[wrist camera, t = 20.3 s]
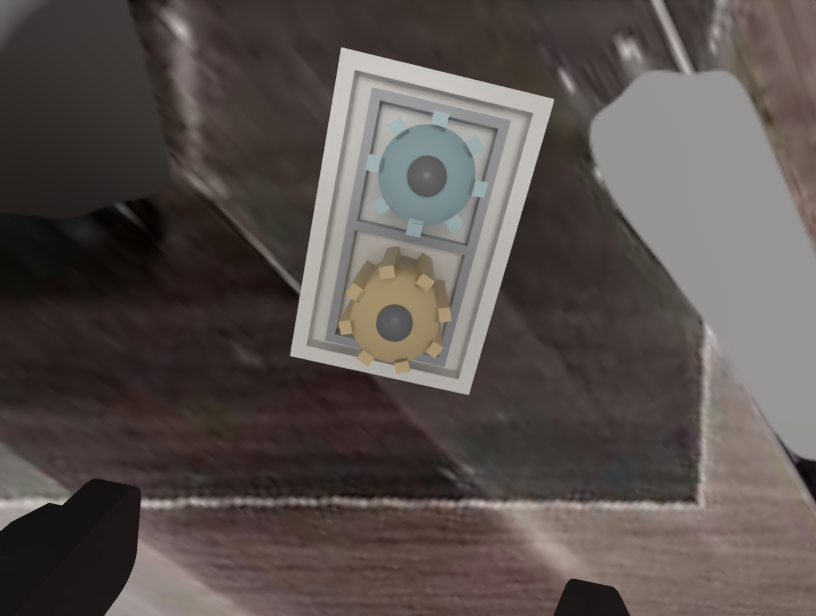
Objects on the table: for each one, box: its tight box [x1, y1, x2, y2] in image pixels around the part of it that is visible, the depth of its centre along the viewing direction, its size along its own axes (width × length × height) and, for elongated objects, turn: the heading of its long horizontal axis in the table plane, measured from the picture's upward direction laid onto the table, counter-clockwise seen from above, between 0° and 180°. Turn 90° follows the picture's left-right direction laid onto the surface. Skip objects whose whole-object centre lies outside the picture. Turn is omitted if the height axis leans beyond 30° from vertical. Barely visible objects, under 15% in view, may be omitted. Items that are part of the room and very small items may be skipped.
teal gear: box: [365, 110, 488, 238], centre depth 27 cm, size 6×6×8 cm
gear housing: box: [290, 47, 554, 395], centre depth 32 cm, size 20×13×2 cm, turn 167°
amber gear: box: [339, 246, 451, 374], centre depth 29 cm, size 6×6×8 cm
